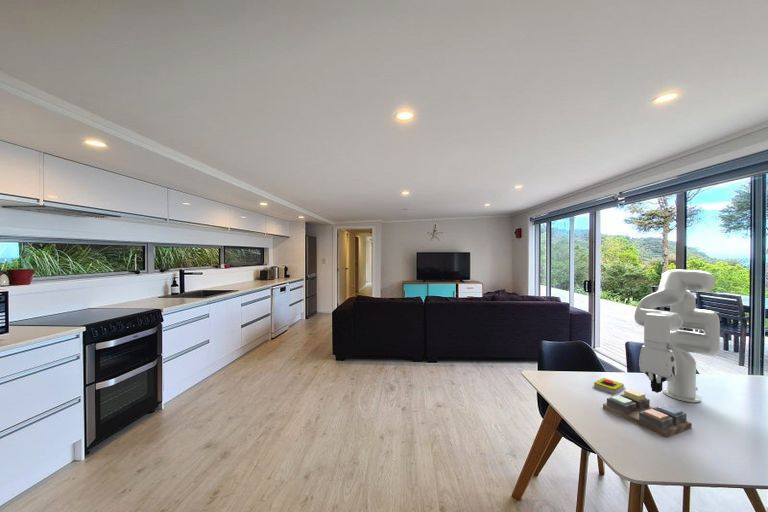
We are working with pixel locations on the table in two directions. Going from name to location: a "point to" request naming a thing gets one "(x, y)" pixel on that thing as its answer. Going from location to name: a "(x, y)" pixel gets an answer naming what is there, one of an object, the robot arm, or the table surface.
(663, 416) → the terracotta button
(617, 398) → the sage button
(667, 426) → the console
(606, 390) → the emergency button
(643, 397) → the mustard button
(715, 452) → the table surface
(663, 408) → the slate button
